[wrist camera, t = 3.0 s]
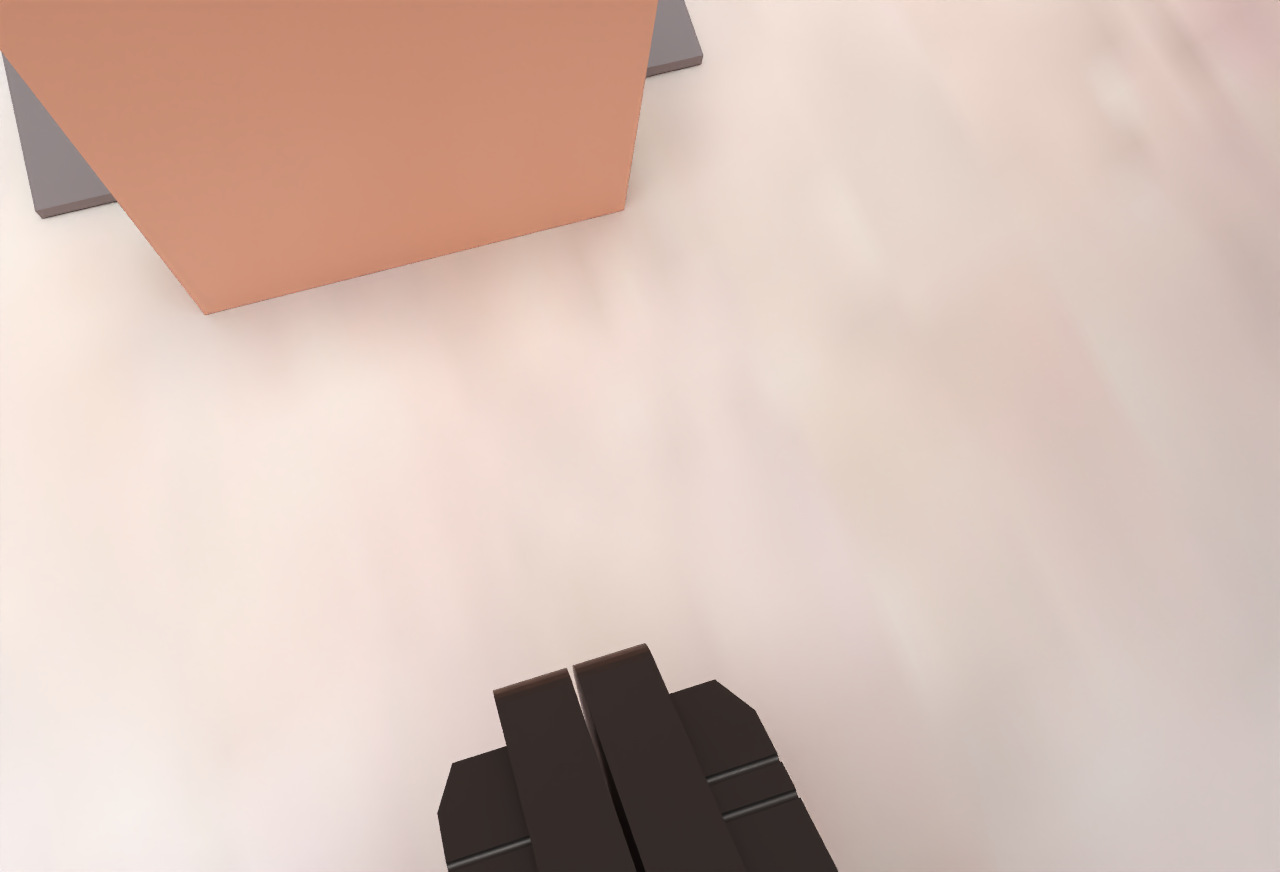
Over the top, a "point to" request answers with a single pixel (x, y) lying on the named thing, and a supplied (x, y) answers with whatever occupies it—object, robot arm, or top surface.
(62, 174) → the mat
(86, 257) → the top surface
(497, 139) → the tile
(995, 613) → the top surface
